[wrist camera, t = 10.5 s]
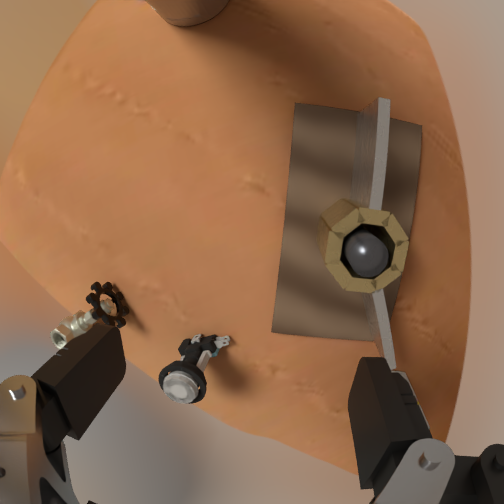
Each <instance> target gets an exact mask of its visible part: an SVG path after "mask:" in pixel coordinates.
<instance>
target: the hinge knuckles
mask: <svg viewBox="0 0 504 504" xmlns="http://www.w3.org/2000/svg"><path fill="white" fill-rule="evenodd" d="M389 122H390V99H385V98H381V97H378V98H377V99H376V100H374V101H373V102H372V103H371V104H369V105H368V106H367V107H366V108H364V109H363V110H362V111H361V112H359V113H358V114H357V128H356V142H355V154H354V165H353V175H352V184H351V193H350V199H347V198H342V199H339V200H338V201H336V202H335V203H334V204H333V205H331V206H330V207H329V208H327V209H326V210H325V211H324V212H322V213H321V215H322V216H319V224H318V232H317V239H316V241H317V244H318V247H319V250H320V252H321V255H322V258H323V261H324V264H325V266H326V267H327V269H328V270H329V271H330V273H331V274H332V275H333V276H334V278H335V279H336V280H337V282H338V283H339V284H340V286H341V287H342V288H343V289H345V290H346V291H354V292H361V293H362V298H363V302H364V306H365V310H366V315H367V319H368V324H369V329H370V333H371V335H372V337H373V339H374V342H375V344H376V346H377V349H378V351H379V353H380V356H381V357H384V358H385V359H386V360H387V363H388V365H389V367H390V370H392V369H395V368H396V362H395V355H394V348H393V341H392V335H391V329H390V323H389V318H388V312H387V307H386V302H385V297H384V292H383V288H384V287H386V286H387V285H388V284H389V283H391V282H392V281H393V280H395V279H396V278H397V277H398V276H400V275H401V273H400V271H401V272H403V269H404V265H405V260H406V255H407V250H408V245H409V241H408V239H409V238H408V237H407V235H406V234H405V232H404V230H403V229H402V227H401V226H400V224H399V223H398V221H397V220H396V218H395V216H394V215H393V213H391V212H389V211H387V210H385V209H383V208H381V206H382V199H383V191H384V182H385V173H386V163H387V152H388V139H389ZM361 223H365V224H370V225H371V231H370V233H372V234H373V235H374V236H375V237H377V238H378V239H379V240H380V241H382V242H383V243H384V245H385V246H386V248H387V250H388V262H387V265H386V267H385V268H384V270H383V271H382V272H381V273H379V274H378V275H376V276H373V277H363V276H360V275H358V274H357V273H356V272H355V271H354V270H353V268H352V267H351V265H350V263H349V262H348V260H347V258H346V257H345V255H344V253H343V252H341V250H342V244H343V237H345V236H346V235H347V234H349V233H350V232H351V231H352V230H354V229H355V228H356V227H357V226H359V225H360V224H361Z"/></svg>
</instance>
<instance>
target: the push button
mask: <svg viewBox="0 0 504 504" xmlns="http://www.w3.org/2000/svg"><path fill="white" fill-rule="evenodd" d="M197 336H198V337H197ZM195 337H197V338H195ZM200 337H201V334H198V335H195V336H194V337H193V339H192V340H191V341H190V339H185V340H183V342H182V343H181V345H180V347H179V348H178V350H179V352H180V354H181V356H182V357H181V360H180V361H174V362H173V363H171V364H169V365H168V366H166V367H165V368H163V369H162V371H161V372H160V374H159V384H160V386H161V388H162V390H163V391H164V392H165V394H166V395H167V396H168V397H169V398H170V399H172V400H173V401H176V402H178V403H186V404H187V403H189V404H190V403H196V402H199V401H200V400H202V399H203V398H204V396H205V393H206V385H207V382H206V379H205V376H204V373H203V372H204V370H205V368H206V365H207V363H208V361H209V358H211V357H215V356H217V355H218V352H219V349H220V348H222V346H226V345H229V343H228V341H230V338H229V336H224V337H216V335H211V336H207V337H203V338H200ZM224 338H227V339H225V340H224ZM224 342H226V344H223V343H224ZM170 371H171V372H170ZM168 372H170V374H169V375H168ZM199 386H200V389H199V390H198V387H199Z"/></svg>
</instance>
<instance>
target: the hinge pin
mask: <svg viewBox="0 0 504 504" xmlns="http://www.w3.org/2000/svg"><path fill="white" fill-rule="evenodd" d="M342 252H343V253H344V255H345V257H346V258H347V260H348V262H349V263H350V265H351V267H352V268H353V270H354V271H355V272H356V273H357V274H358V275H360V276H363V277H373V276H376V275H378V274H379V273H381V272H382V271H383V270H384V268H385V267H386V265H387V262H388V250H387V248H386V246H385V245H384V243H383V242H382V241H380V240H379V239H378V238H377V237H375V236H374V235H373V234H372V233H370V232H369V231H368V230H367V229H365V228H364V227H363V226H362V225H359V226H357V227H356V228H355V229H354V230H352V231H351V232H350V233H349V234H347V235H346V236H345V237H343V244H342Z"/></svg>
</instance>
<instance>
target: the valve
mask: <svg viewBox="0 0 504 504" xmlns="http://www.w3.org/2000/svg"><path fill="white" fill-rule="evenodd" d="M91 290H95V291H96V293H95V294H94V293H90V294H89V295H88V296H87V297H86V301H87V302H88V303H89V304H90V303H91V305H92V306H93V307H94V308H92V309H91V310H90V311H88V312H87V313H84V312H83V311H82V310H80V311H78V312H77V313H76V314H74V315H73V316H68V317H66V318H64V319H63V320H62V321H61V322H60V324H59V326H58V327H57V328H56V329H55V330H53V331H52V332H51V333H50V335H51V339H52V342H53V344H54V345H55V346H56V347H57V348H58V349H59V350H60V349H61V348H62V349H63V347H64V346H65V345H66V344H67V343H68V342H69V341H70V340H71V339H73V338H75V337H77V336H79V335H81V334H83V333H86V332H87V331H88V330H89V329H91V328H92V327H93V323H94V322H96V321H97V320H98V319H100V318H102V320H103V322H104V323H106V325H110V326H115V321H116V322H117V323H118V325H117V327H118V328H121V327H123V326H125V325H126V321H125V319H124V318H122V316H125V315H127V314H128V313H129V309H128V308H127V307H126V306H122V304H121V300H122V299H123V298H124V296H123V294H122V293H121V292H118V293H116V294H115V293H114V292H113V291H112V284H111V283H110V282H106V283H105V284H104V285H103V286H102V287H101V284H100V283H99V282H95V283H94V284H93V285H91ZM101 294H106V295H108V296H110V297H111V298H112V300H110V299H108V298H107V299H105V300H101V301H100V295H101ZM113 303H115V304H116V307H117V314H116V316H110V315H108V314H110V313H111V311H112V310H113V309H114V304H113Z"/></svg>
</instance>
